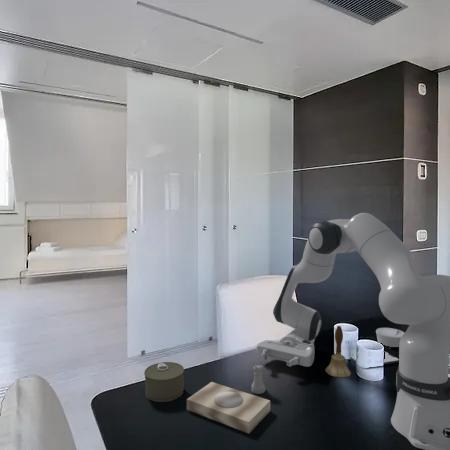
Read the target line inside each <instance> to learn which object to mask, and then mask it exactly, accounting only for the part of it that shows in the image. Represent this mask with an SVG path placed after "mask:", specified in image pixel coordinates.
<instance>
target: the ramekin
mask: <svg viewBox="0 0 450 450" xmlns="http://www.w3.org/2000/svg"><path fill="white" fill-rule="evenodd" d="M375 333H376V339H377V343H378V342H379V343H382V344H383V345H385V346H389V347H399V343H400V339H401V337H402V336H403V334H404V333H405V332H404V331H402V330H401V329H397V328H391V327H379V328H376V330H375ZM379 343H378V344H379Z"/></svg>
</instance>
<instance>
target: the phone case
mask: <svg viewBox="0 0 450 450" xmlns="http://www.w3.org/2000/svg"><path fill="white" fill-rule="evenodd" d="M384 352H385V359H384V364H390V363H395V362H399V358H398V357H396V356H395V355H393V354H391V353H389V352H387V351H384ZM353 356H354V357H353ZM353 356H352V357H351V356H350V357H349V360H350V361H351V362H353V363H354V364H355V363H356V358H355V356H356V355H353Z"/></svg>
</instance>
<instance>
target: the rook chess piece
mask: <svg viewBox="0 0 450 450" xmlns="http://www.w3.org/2000/svg"><path fill="white" fill-rule="evenodd" d="M252 370H253V375H254V377H253V382H252V384H251V388H250V390H251V393H253V394H255V395H262V394H264V393H265V392H266V385H265V382H264V380H263V374H264V373H263V371H264V367H263V364H261V363H258V364H257V363H255V364H254V366H253V367H252Z"/></svg>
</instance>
